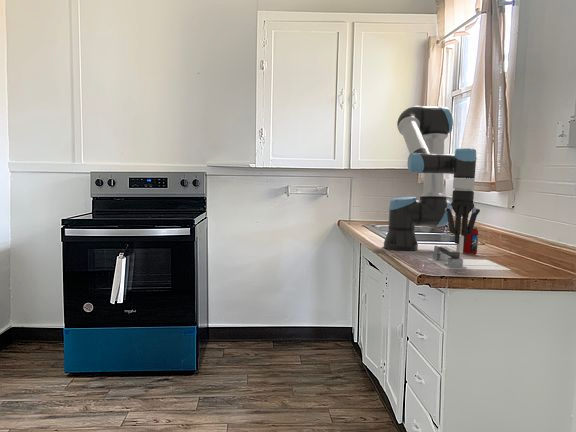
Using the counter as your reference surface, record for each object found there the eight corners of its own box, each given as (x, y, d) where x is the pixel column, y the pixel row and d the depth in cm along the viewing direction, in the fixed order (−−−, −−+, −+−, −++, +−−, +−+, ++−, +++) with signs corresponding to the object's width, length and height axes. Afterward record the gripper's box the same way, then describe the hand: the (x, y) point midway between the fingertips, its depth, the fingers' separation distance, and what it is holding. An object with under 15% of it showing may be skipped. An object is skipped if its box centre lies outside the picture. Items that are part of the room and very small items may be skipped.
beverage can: (477, 256, 213) (478, 228, 211) (460, 255, 215) (461, 227, 214) (476, 253, 219) (478, 226, 218) (460, 252, 221) (461, 225, 220)
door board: (426, 261, 198) (427, 258, 198) (486, 262, 199) (486, 259, 199) (445, 271, 178) (445, 268, 178) (511, 272, 179) (511, 269, 179)
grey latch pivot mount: (443, 264, 185) (444, 256, 185) (459, 265, 185) (460, 257, 185) (449, 268, 179) (450, 259, 179) (466, 268, 179) (466, 260, 179)
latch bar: (461, 258, 180) (461, 251, 180) (452, 258, 180) (453, 251, 180) (446, 251, 196) (446, 245, 196) (438, 251, 196) (438, 244, 196)
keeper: (432, 258, 197) (433, 245, 197) (445, 259, 197) (446, 246, 197) (435, 260, 194) (436, 247, 193) (448, 260, 194) (449, 247, 193)
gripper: (476, 190, 191) (472, 251, 194) (442, 189, 191) (439, 250, 193) (484, 190, 184) (480, 254, 186) (449, 189, 184) (445, 253, 186)
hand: (459, 252), depth 190 cm, fingers closed
